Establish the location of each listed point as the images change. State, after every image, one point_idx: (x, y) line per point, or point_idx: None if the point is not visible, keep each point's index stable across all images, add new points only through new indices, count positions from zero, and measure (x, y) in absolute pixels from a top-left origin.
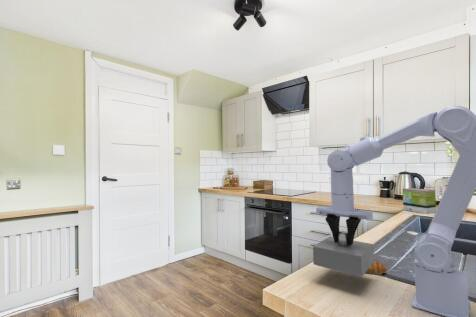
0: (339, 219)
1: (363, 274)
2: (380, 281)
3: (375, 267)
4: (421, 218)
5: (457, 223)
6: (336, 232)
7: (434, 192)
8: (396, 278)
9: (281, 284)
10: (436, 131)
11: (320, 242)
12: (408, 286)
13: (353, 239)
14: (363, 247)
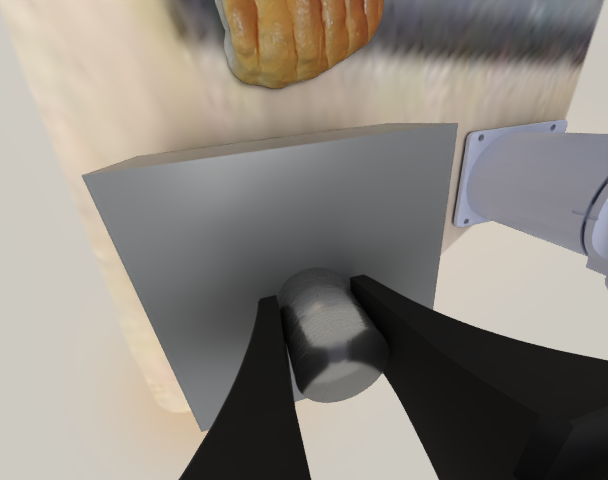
0: (305, 460)
1: None
2: (369, 121)
3: (352, 46)
4: None
5: None
6: (292, 394)
7: None
8: (413, 36)
9: (155, 377)
10: None
11: (176, 365)
12: (448, 91)
13: (383, 286)
14: (413, 245)
